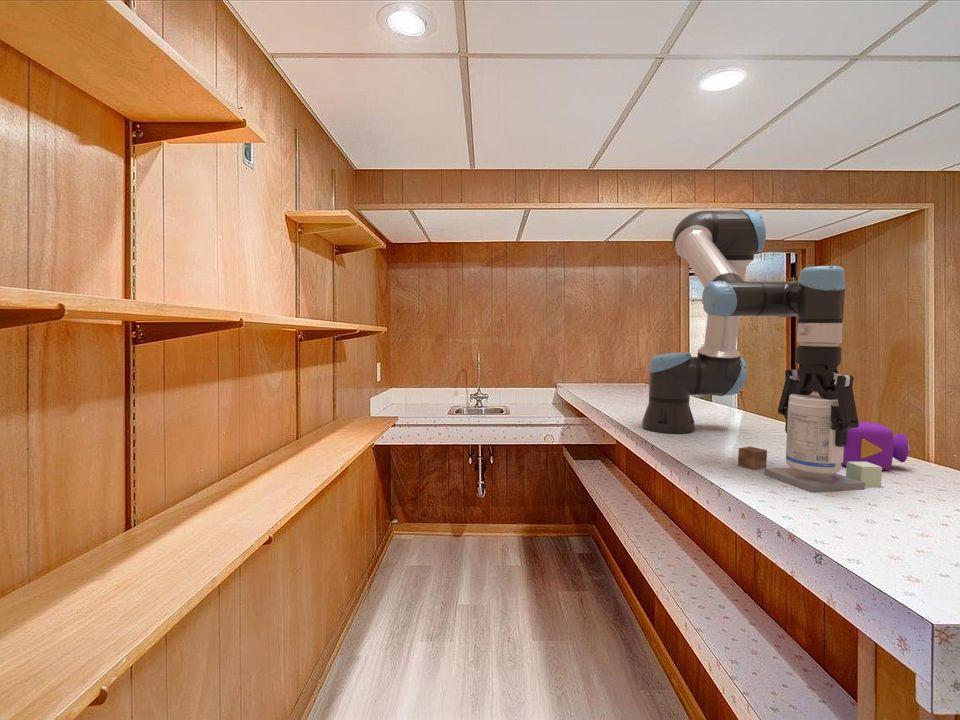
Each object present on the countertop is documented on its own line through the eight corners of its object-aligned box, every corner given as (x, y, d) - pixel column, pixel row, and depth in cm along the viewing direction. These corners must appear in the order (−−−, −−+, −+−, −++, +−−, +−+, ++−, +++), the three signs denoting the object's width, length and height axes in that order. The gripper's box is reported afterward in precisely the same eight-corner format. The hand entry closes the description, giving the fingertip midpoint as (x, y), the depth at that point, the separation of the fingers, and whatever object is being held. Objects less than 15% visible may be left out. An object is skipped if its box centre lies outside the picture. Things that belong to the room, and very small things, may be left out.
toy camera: (919, 474, 108) (922, 428, 107) (847, 470, 111) (849, 425, 110) (889, 461, 119) (891, 419, 118) (824, 458, 121) (826, 416, 121)
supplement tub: (800, 460, 109) (803, 392, 108) (850, 470, 101) (854, 397, 100) (775, 466, 104) (779, 395, 103) (827, 478, 96) (831, 401, 95)
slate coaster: (764, 474, 107) (764, 468, 107) (812, 471, 109) (812, 466, 109) (811, 492, 95) (811, 486, 95) (864, 488, 98) (864, 482, 98)
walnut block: (738, 465, 114) (738, 448, 114) (749, 463, 116) (750, 446, 116) (754, 470, 111) (755, 452, 110) (766, 467, 112) (767, 450, 112)
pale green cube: (845, 480, 103) (846, 461, 103) (865, 480, 103) (866, 461, 103) (860, 487, 99) (861, 466, 99) (880, 487, 99) (882, 467, 99)
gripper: (761, 343, 111) (756, 444, 112) (853, 347, 89) (847, 472, 90) (790, 343, 112) (786, 442, 114) (889, 347, 90) (881, 470, 92)
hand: (813, 455), depth 102 cm, fingers closed on supplement tub, 9 cm apart
